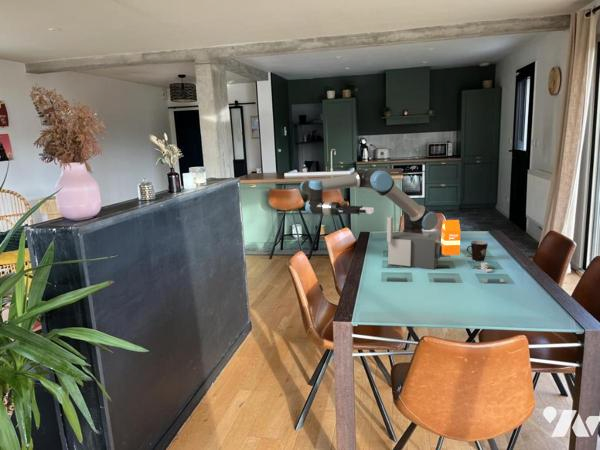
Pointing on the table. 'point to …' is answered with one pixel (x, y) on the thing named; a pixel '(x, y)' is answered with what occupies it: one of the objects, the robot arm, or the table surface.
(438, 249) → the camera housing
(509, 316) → the table surface
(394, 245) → the side door
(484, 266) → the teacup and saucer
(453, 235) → the orange juice
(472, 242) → the coffee mug
